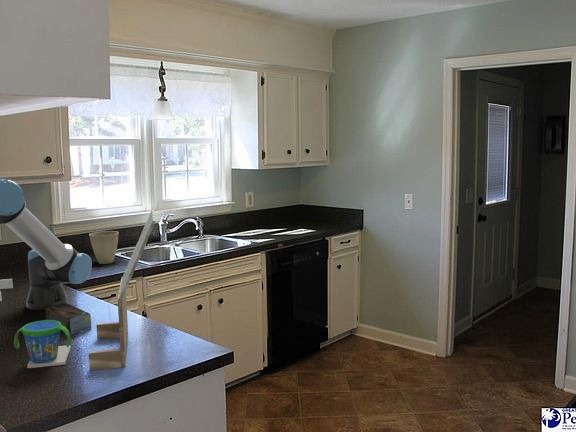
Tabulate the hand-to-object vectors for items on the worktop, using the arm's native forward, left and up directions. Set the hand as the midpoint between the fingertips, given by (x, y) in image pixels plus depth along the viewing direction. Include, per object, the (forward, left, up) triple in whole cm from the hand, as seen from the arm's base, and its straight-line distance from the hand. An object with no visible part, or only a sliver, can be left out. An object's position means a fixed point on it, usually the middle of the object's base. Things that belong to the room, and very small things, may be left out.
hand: (6, 289), depth 162 cm
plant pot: (-137, +17, -22) cm, 139 cm away
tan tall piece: (-1, +33, -22) cm, 39 cm away
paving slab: (-1, +10, -22) cm, 24 cm away
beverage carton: (-30, +12, -22) cm, 39 cm away
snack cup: (+2, +9, -21) cm, 23 cm away
